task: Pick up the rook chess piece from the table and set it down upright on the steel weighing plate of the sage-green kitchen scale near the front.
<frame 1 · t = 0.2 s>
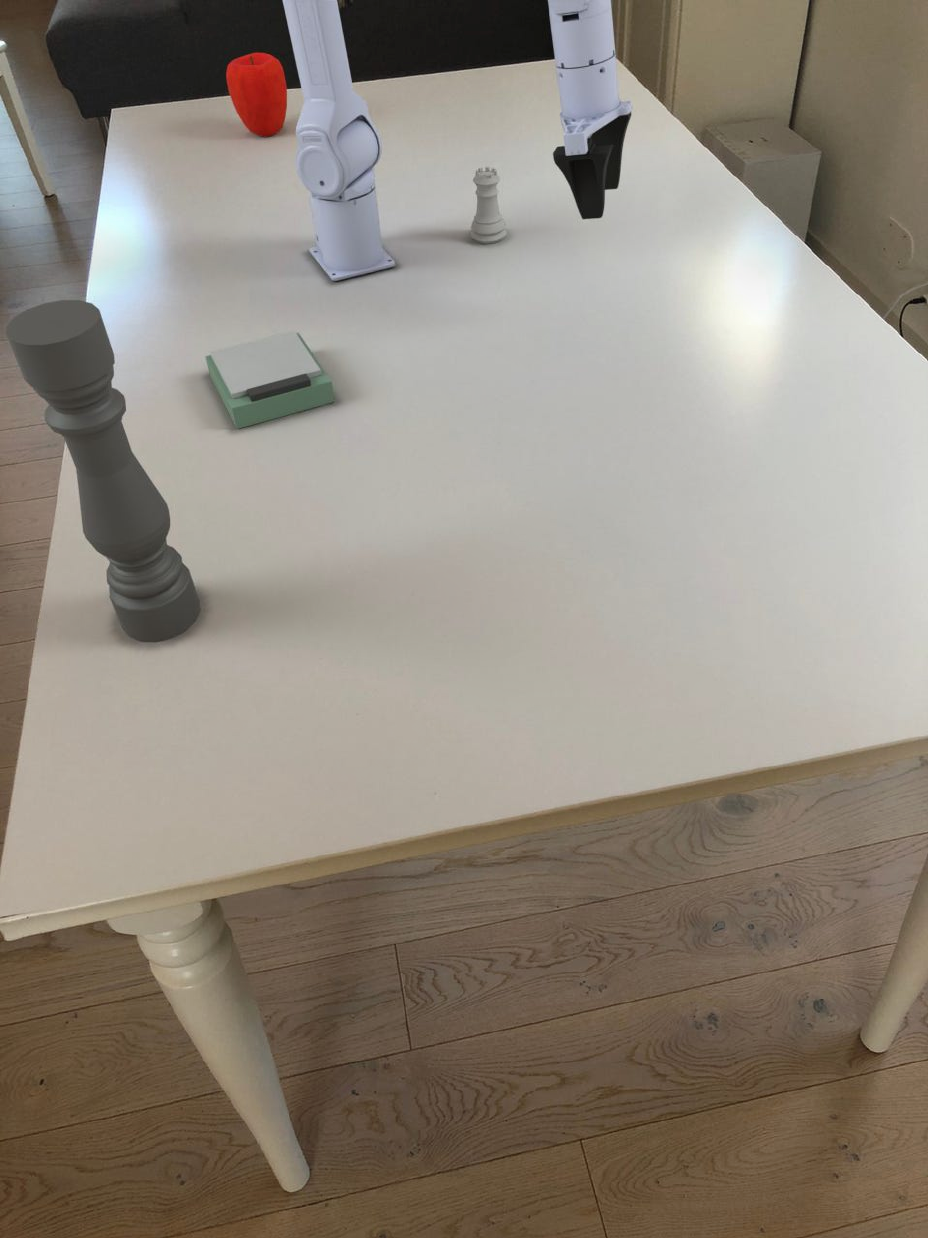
hand: (600, 202, 105), 10 cm above the table, tool pointing down, fingers open, 7 cm apart
candle holder: (161, 615, 80), on the table
rook chess piece: (488, 238, 125), on the table
scale: (271, 389, 102), on the table
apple: (266, 133, 156), on the table
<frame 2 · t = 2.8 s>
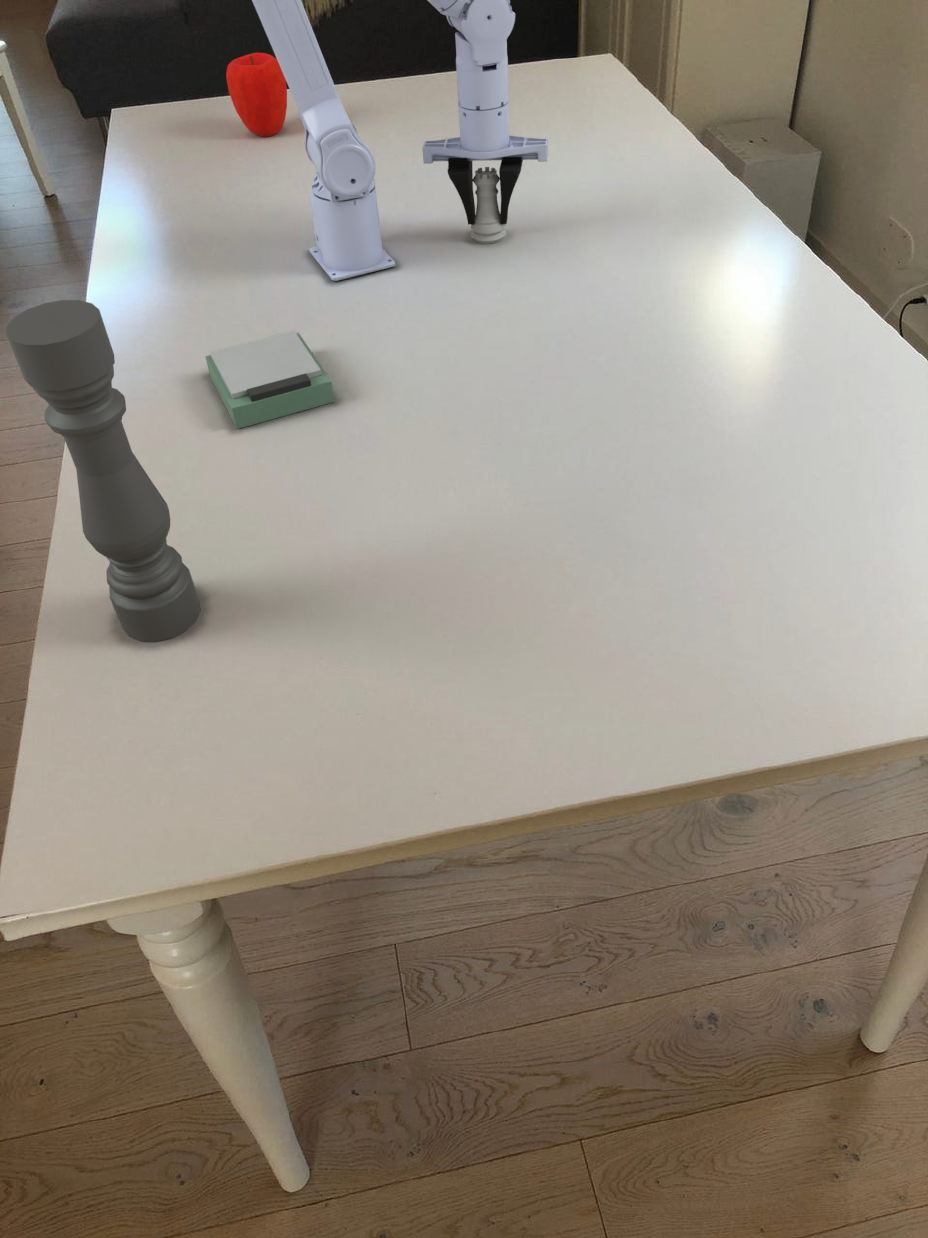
hand: (488, 220, 124), 2 cm above the table, tool pointing down, fingers closed on rook chess piece, 3 cm apart
rook chess piece: (488, 238, 125), on the table, touching gripper
everything else where it was.
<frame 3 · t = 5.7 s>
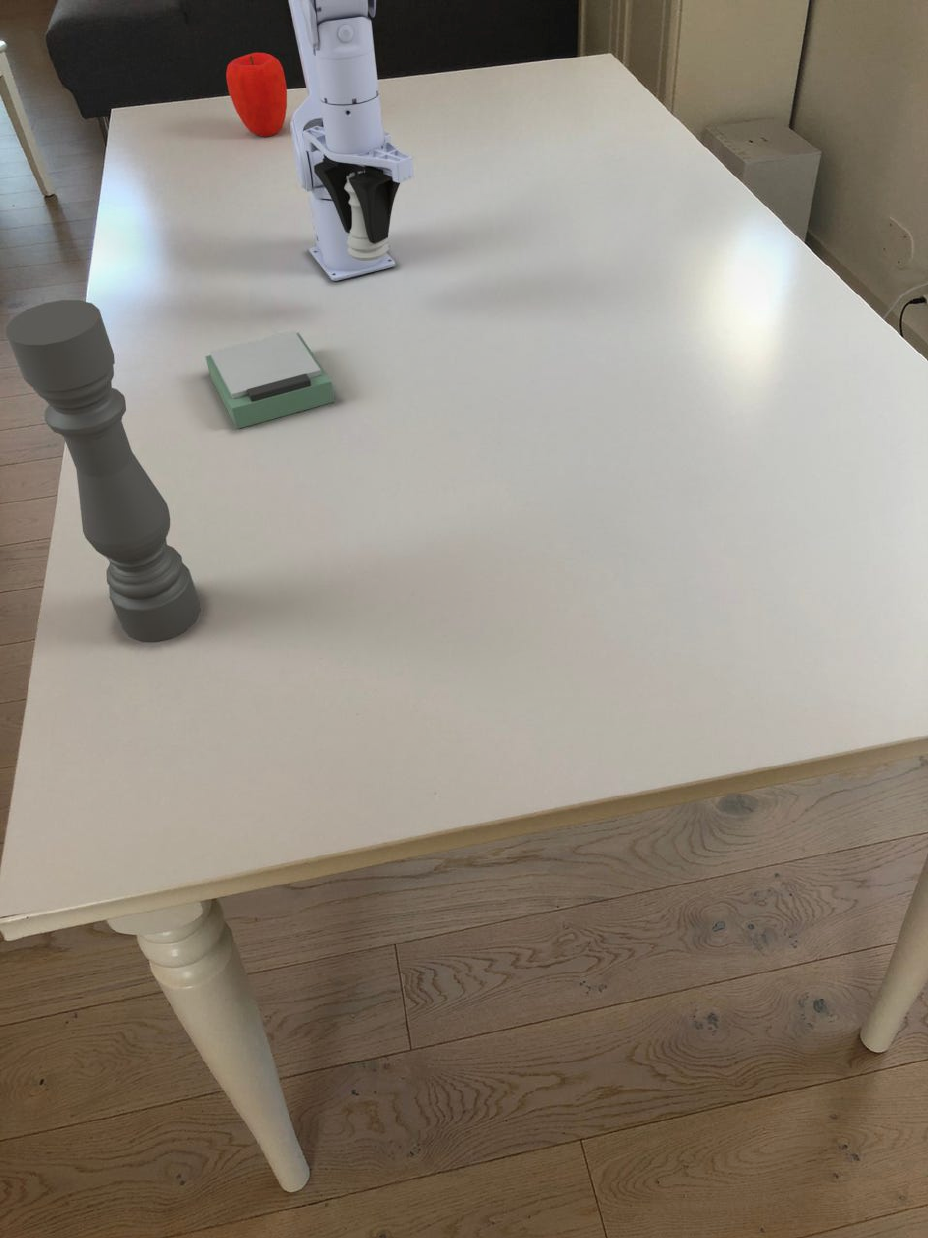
hand: (366, 234, 106), 9 cm above the table, tool pointing down, fingers closed on rook chess piece, 3 cm apart
rook chess piece: (369, 254, 108), point 7 cm above the table, touching gripper
everything else where it was.
when the fingers open (5 cm above the table, at t = 8.4 s): rook chess piece stays where it is, resting on scale.
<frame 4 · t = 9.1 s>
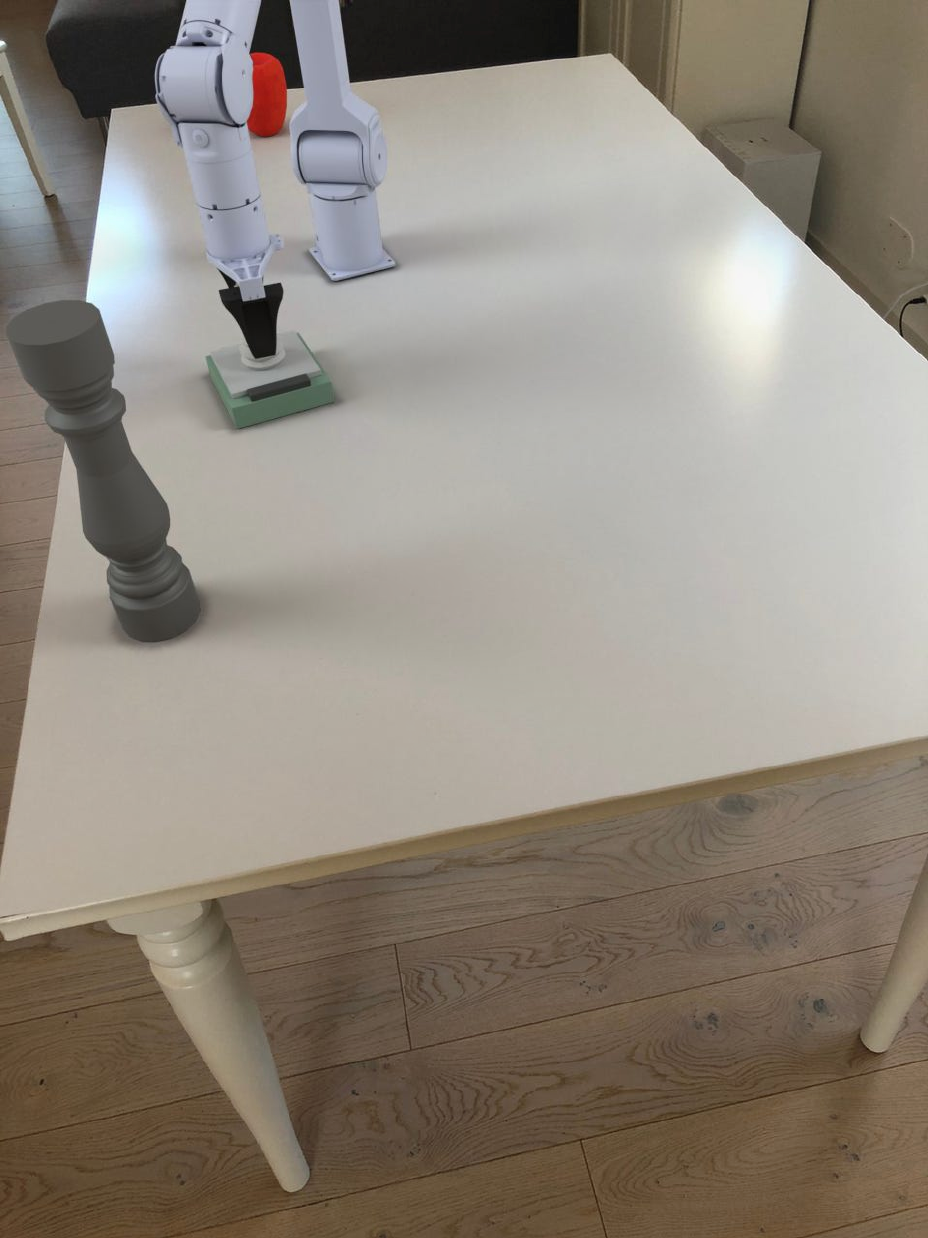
hand: (259, 336, 99), 6 cm above the table, tool pointing down, fingers open, 7 cm apart
rook chess piece: (264, 361, 101), point 3 cm above the table, touching scale
everything else where it was.
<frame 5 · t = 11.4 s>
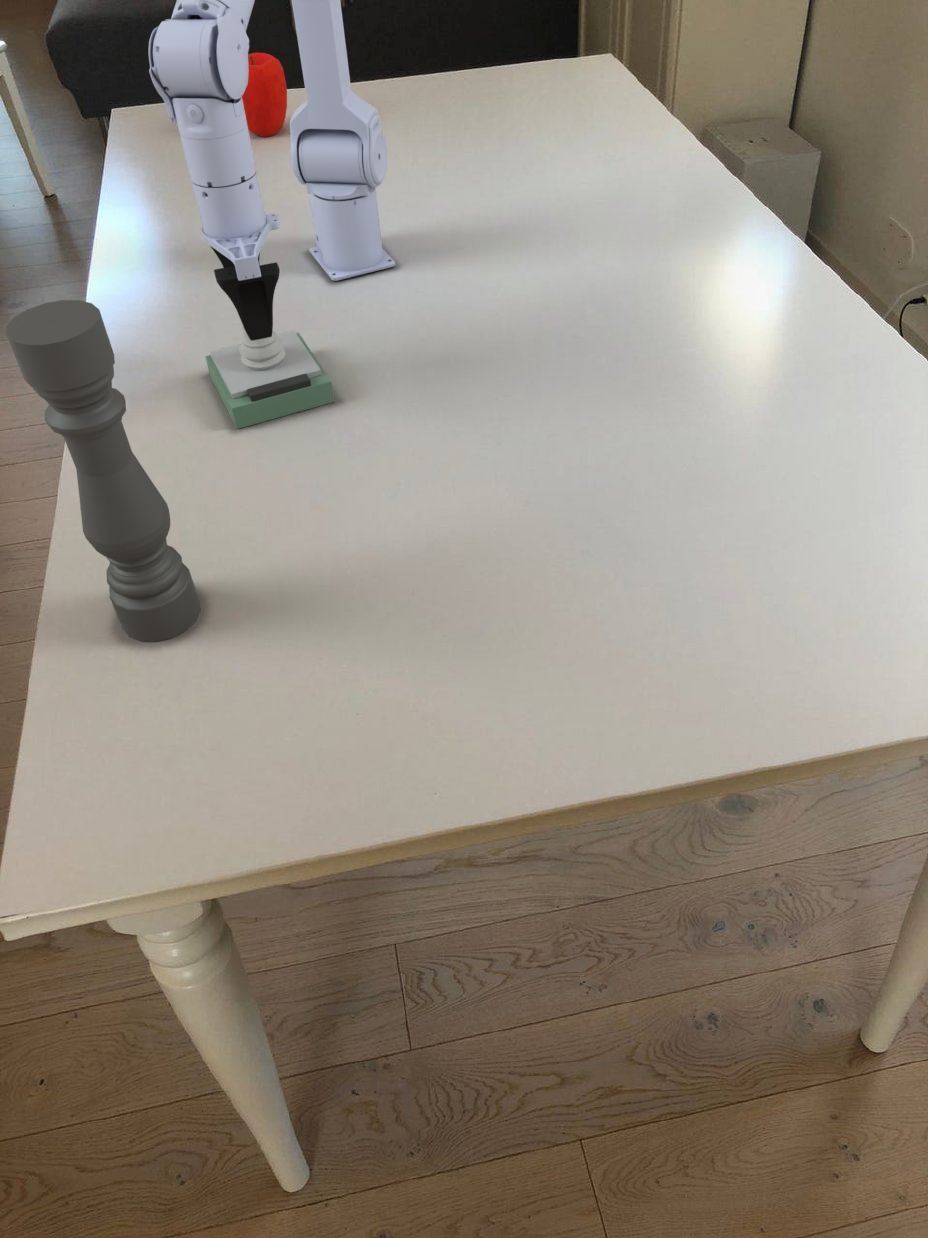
hand: (255, 318, 98), 8 cm above the table, tool pointing down, fingers open, 7 cm apart
nothing on the table moved.
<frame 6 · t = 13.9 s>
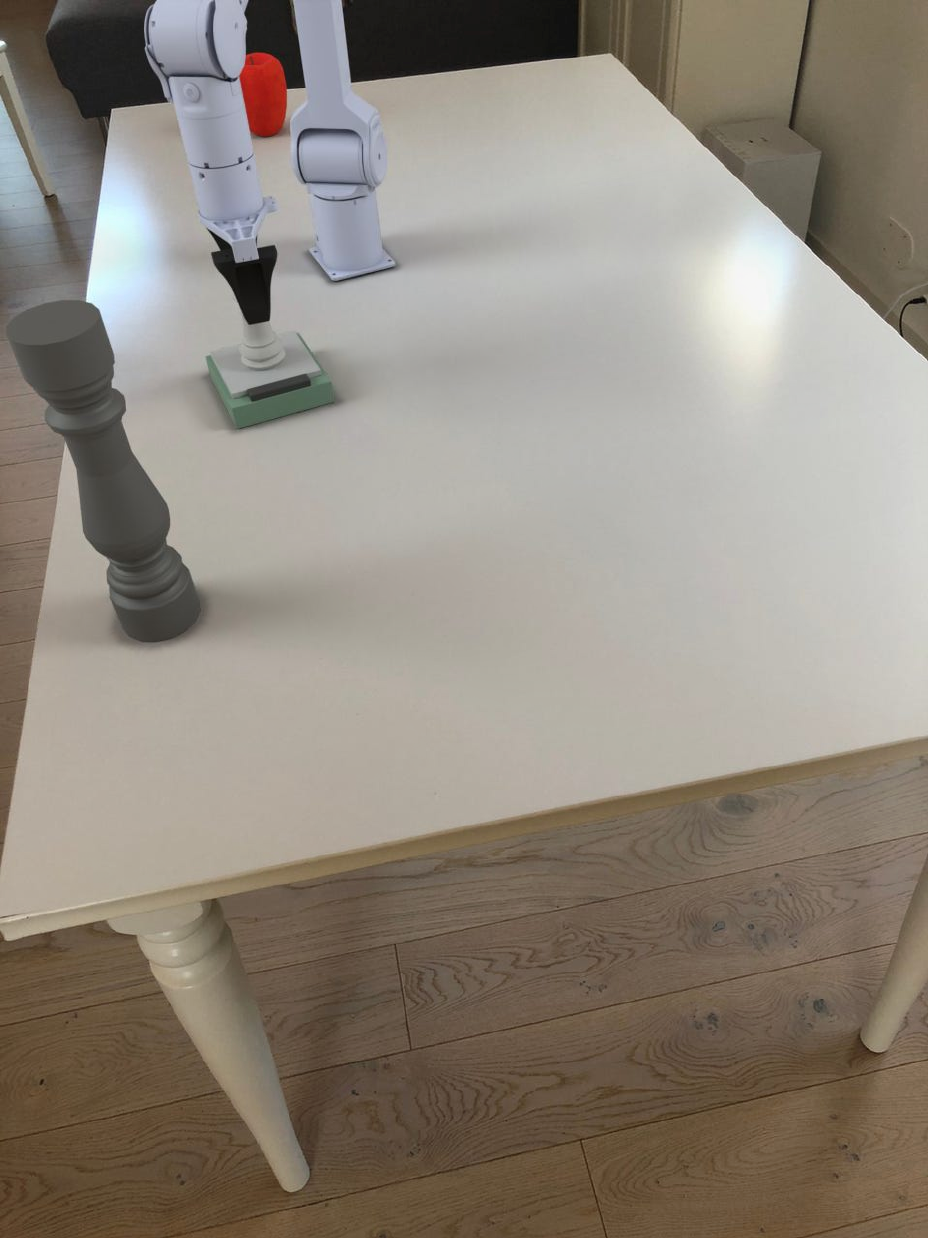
hand: (252, 303, 96), 9 cm above the table, tool pointing down, fingers open, 7 cm apart
nothing on the table moved.
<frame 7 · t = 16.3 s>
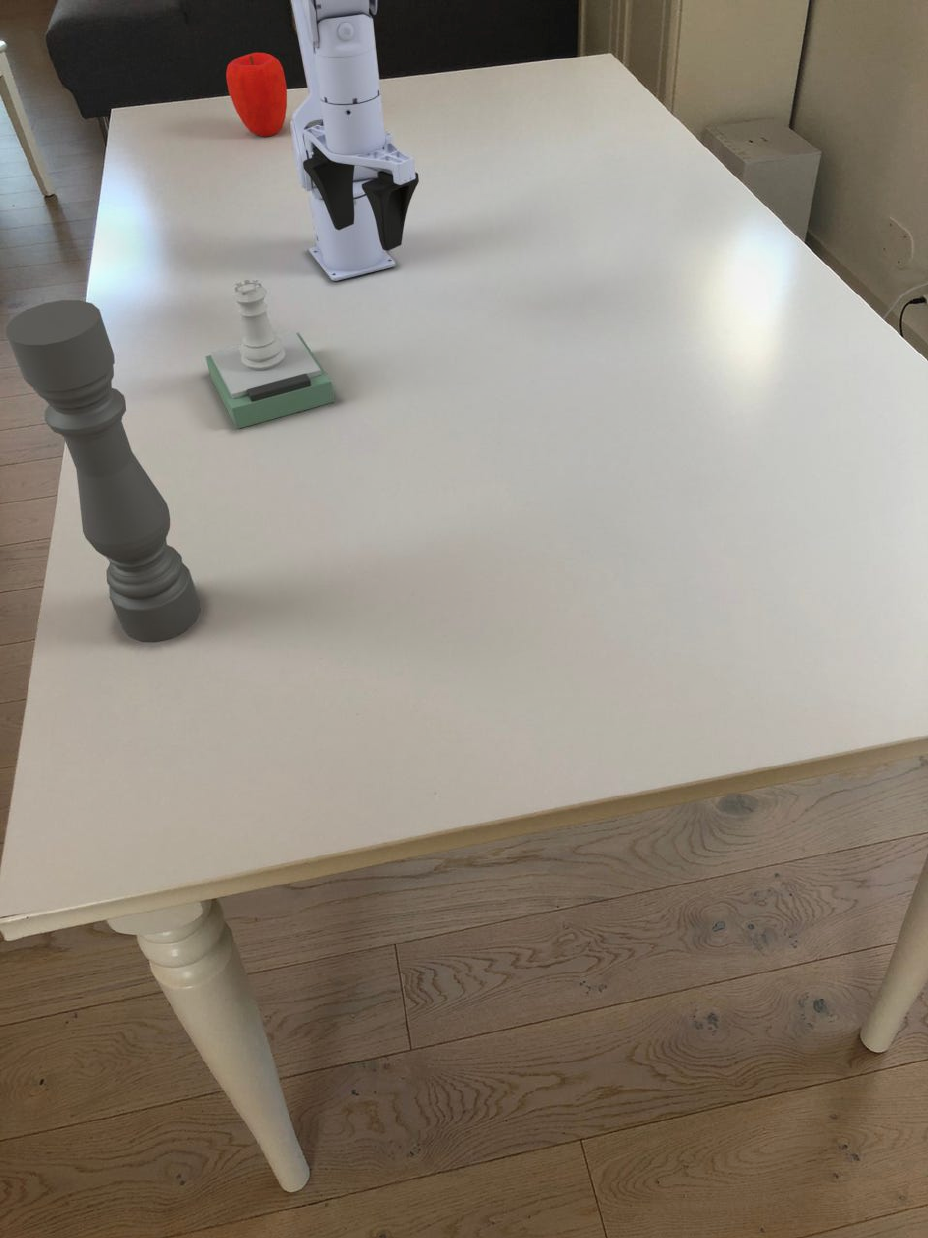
hand: (367, 236, 104), 10 cm above the table, tool pointing down, fingers open, 7 cm apart
nothing on the table moved.
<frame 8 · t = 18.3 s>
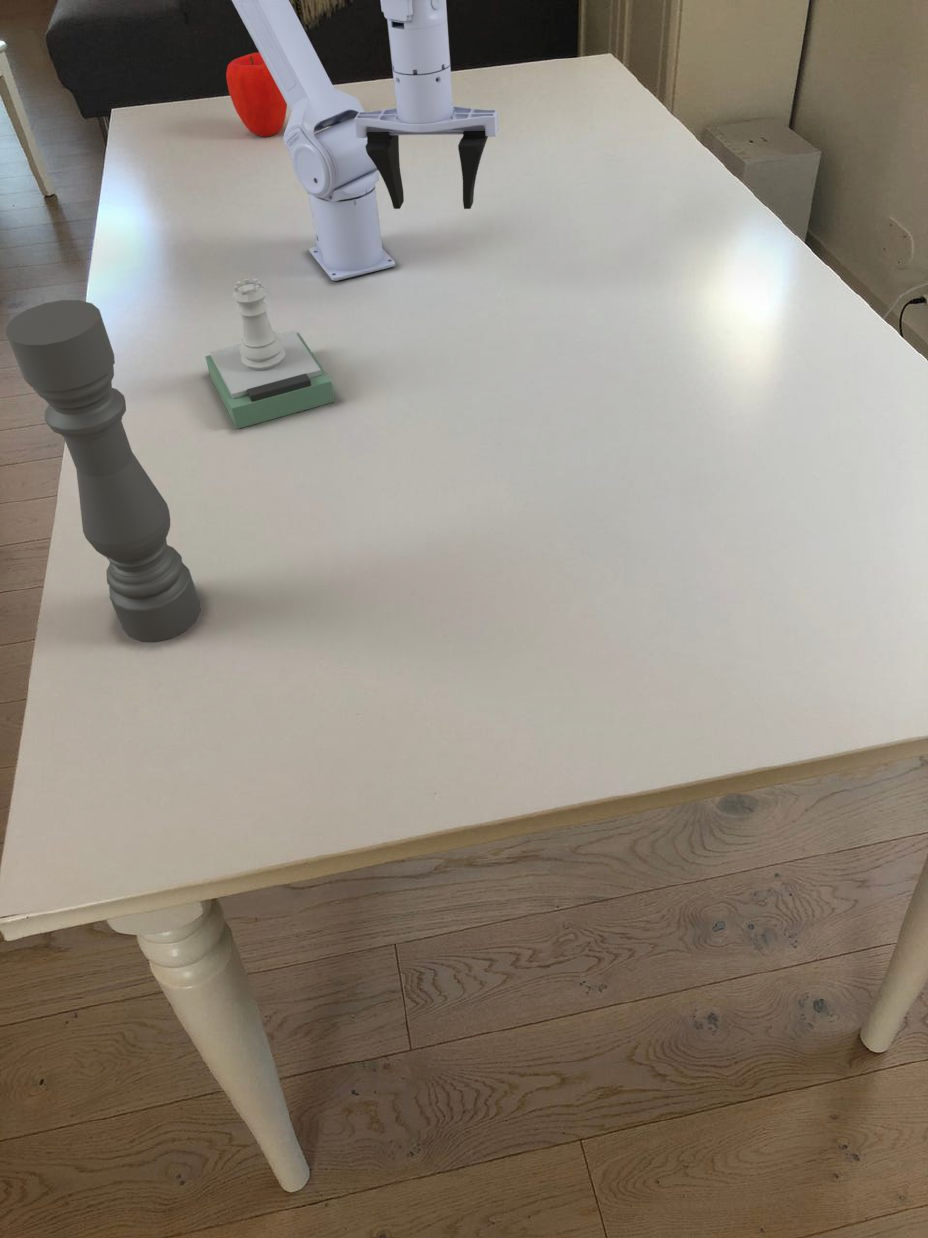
hand: (433, 205, 109), 10 cm above the table, tool pointing down, fingers open, 7 cm apart
nothing on the table moved.
at the end: rook chess piece inside the target area on the scale (0.0 cm from its centre), point 2.8 cm above the scale's base; rook chess piece tilted 0°; the gripper is holding nothing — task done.
